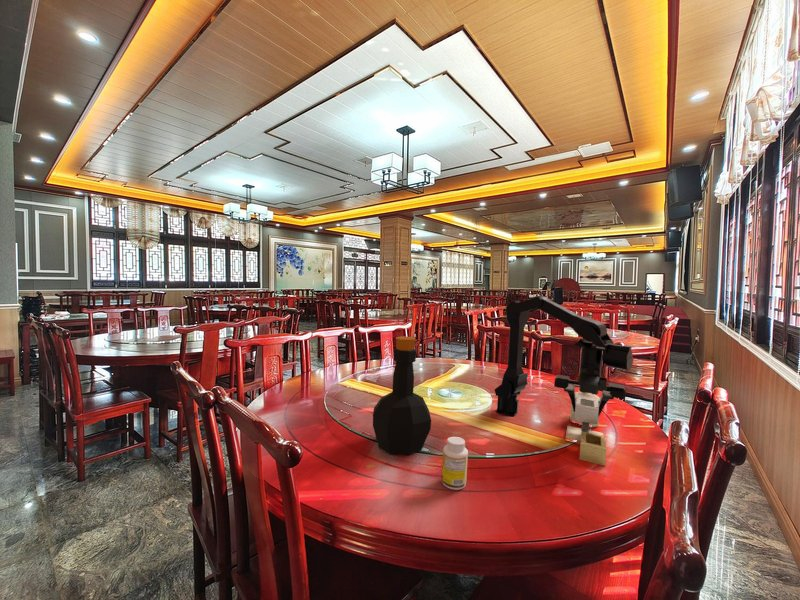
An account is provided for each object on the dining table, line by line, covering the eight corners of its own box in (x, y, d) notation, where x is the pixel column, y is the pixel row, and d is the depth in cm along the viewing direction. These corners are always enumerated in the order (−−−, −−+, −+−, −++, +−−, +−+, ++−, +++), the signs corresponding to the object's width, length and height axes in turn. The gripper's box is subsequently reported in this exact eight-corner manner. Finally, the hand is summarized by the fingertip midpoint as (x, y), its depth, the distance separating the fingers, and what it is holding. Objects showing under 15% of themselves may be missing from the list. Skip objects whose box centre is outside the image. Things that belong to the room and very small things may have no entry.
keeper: (565, 440, 108) (566, 423, 108) (567, 429, 117) (568, 413, 117) (603, 449, 104) (605, 431, 103) (602, 436, 113) (604, 420, 112)
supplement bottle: (449, 474, 86) (452, 432, 86) (470, 484, 83) (473, 440, 82) (436, 484, 82) (439, 440, 82) (457, 494, 79) (460, 448, 78)
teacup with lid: (604, 428, 119) (607, 394, 118) (576, 427, 119) (579, 392, 118) (586, 415, 131) (589, 383, 130) (561, 413, 131) (563, 381, 130)
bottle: (363, 436, 105) (368, 333, 103) (416, 430, 110) (421, 332, 109) (380, 463, 90) (386, 343, 88) (439, 455, 96) (446, 342, 94)
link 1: (597, 424, 105) (598, 409, 104) (574, 419, 107) (575, 404, 107) (596, 414, 113) (598, 400, 112) (575, 410, 115) (576, 396, 115)
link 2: (605, 465, 94) (606, 449, 94) (579, 459, 97) (580, 443, 97) (603, 451, 102) (605, 436, 102) (580, 446, 105) (581, 431, 105)
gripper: (554, 363, 106) (550, 415, 107) (629, 374, 98) (624, 430, 99) (557, 356, 116) (553, 404, 117) (626, 366, 107) (621, 417, 108)
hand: (586, 413), depth 110 cm, fingers closed on link 1, 6 cm apart
